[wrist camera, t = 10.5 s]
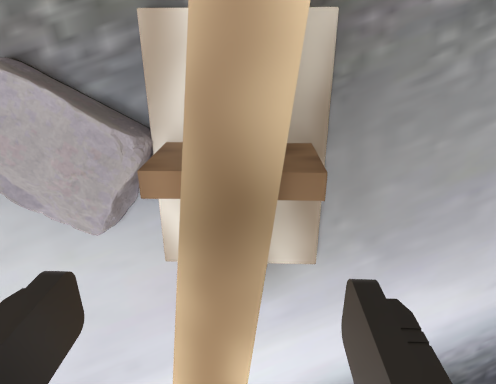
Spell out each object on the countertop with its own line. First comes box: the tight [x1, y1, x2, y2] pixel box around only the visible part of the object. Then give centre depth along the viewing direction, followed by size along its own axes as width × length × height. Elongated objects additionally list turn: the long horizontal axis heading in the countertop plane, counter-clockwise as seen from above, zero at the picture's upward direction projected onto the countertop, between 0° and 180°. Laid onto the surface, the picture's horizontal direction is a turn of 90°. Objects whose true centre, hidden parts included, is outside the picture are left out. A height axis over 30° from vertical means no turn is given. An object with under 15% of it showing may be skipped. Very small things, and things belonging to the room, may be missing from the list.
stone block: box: [0, 57, 153, 236], centre depth 25 cm, size 12×5×10 cm
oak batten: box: [173, 0, 310, 384], centre depth 16 cm, size 4×22×4 cm, turn 174°
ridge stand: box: [137, 7, 339, 264], centre depth 22 cm, size 12×18×8 cm, turn 0°
